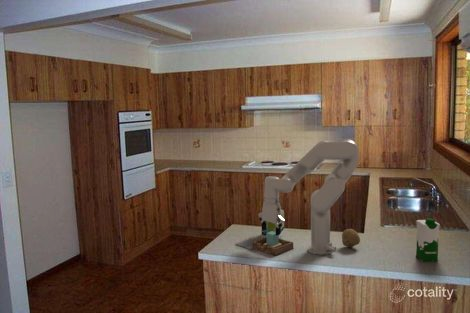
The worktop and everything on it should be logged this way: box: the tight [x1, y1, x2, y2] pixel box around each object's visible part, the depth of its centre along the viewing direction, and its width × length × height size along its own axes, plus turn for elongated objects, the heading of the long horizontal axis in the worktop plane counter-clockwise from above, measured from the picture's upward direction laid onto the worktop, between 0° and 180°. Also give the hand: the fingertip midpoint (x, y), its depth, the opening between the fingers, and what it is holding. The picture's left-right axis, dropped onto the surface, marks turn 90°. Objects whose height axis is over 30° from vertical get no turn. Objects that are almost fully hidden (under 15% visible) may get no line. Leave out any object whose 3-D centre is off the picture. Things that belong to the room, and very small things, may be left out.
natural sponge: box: [341, 228, 361, 249], centre depth 211 cm, size 9×9×10 cm
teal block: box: [266, 231, 279, 246], centre depth 212 cm, size 4×4×6 cm
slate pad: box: [235, 238, 258, 251], centre depth 220 cm, size 12×12×1 cm
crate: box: [252, 237, 294, 257], centre depth 213 cm, size 16×14×4 cm
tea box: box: [261, 209, 285, 239], centre depth 230 cm, size 15×10×15 cm, turn 161°
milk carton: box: [415, 217, 441, 262], centre depth 193 cm, size 9×9×20 cm
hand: (270, 232), depth 212 cm, fingers open, 9 cm apart
